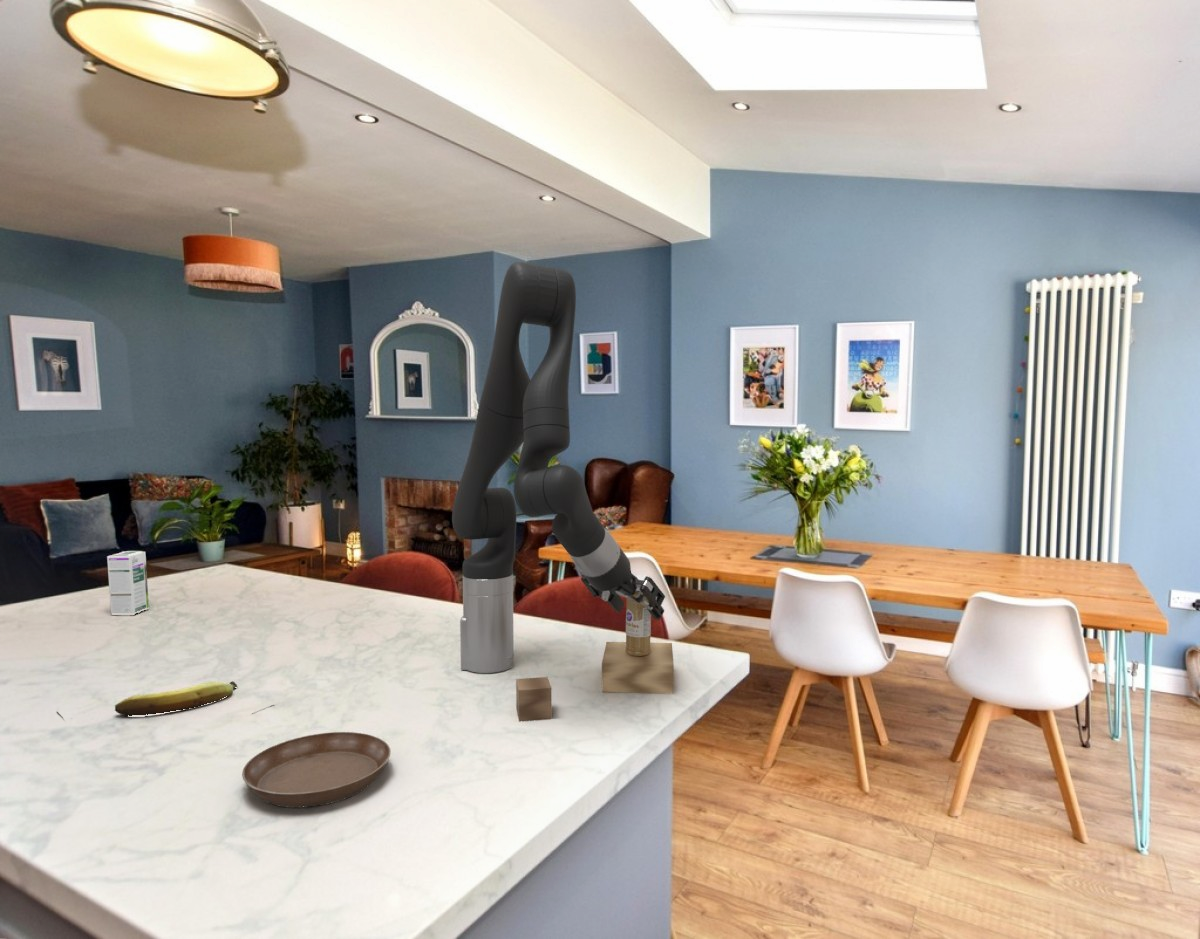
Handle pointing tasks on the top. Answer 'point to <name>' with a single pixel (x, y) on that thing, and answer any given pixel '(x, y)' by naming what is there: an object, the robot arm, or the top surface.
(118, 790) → the top surface
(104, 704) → the top surface
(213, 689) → the banana
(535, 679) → the walnut cube
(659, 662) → the oak block
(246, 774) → the plant saucer
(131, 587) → the syrup box
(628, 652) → the sprinkles bottle
